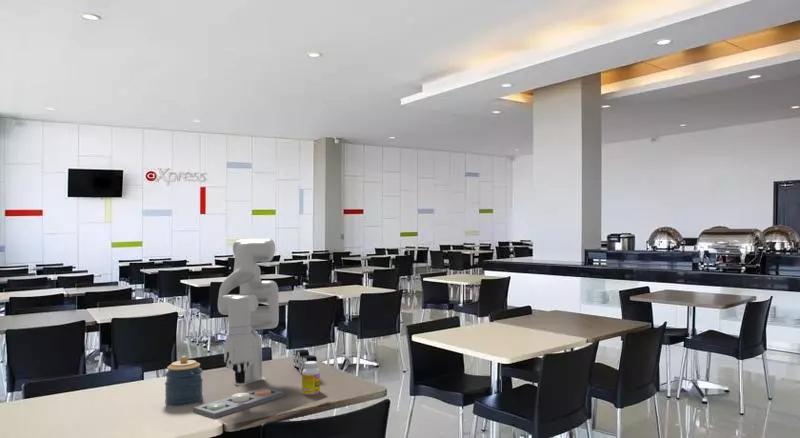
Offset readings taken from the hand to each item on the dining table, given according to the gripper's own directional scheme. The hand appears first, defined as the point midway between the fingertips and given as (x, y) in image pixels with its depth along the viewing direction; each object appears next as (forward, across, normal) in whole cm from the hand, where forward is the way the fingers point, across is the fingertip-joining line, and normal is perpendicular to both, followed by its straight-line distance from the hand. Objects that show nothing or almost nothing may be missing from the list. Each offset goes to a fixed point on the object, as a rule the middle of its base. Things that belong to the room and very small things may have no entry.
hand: (240, 382), depth 200 cm
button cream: (+8, 0, -1) cm, 8 cm away
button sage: (+9, +10, -1) cm, 13 cm away
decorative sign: (+8, -49, -19) cm, 54 cm away
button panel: (+9, -1, -1) cm, 9 cm away
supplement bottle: (+9, -25, +10) cm, 28 cm away
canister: (+9, +8, -22) cm, 25 cm away
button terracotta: (+8, -10, -1) cm, 14 cm away
